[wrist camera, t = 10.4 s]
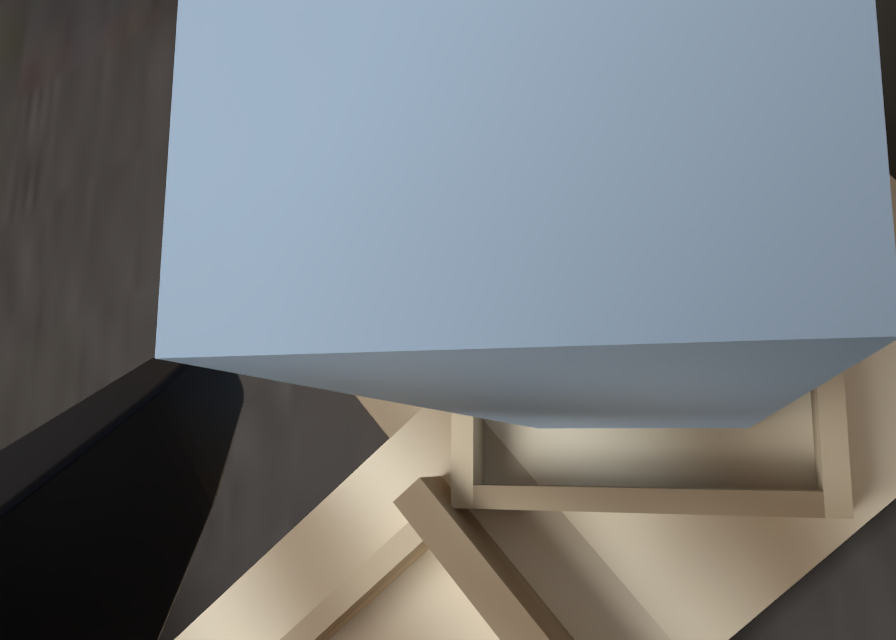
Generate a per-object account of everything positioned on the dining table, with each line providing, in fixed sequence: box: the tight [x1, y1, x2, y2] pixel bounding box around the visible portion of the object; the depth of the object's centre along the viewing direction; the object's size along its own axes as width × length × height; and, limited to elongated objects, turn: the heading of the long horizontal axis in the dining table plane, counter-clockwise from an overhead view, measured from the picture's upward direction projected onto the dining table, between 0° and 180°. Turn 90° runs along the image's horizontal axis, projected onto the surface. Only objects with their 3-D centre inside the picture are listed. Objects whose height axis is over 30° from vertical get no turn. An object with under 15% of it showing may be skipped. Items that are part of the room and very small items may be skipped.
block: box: [155, 0, 896, 429], centre depth 12 cm, size 4×4×14 cm
